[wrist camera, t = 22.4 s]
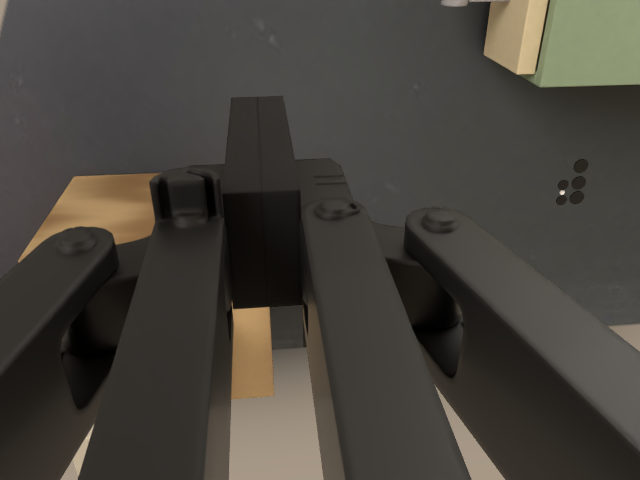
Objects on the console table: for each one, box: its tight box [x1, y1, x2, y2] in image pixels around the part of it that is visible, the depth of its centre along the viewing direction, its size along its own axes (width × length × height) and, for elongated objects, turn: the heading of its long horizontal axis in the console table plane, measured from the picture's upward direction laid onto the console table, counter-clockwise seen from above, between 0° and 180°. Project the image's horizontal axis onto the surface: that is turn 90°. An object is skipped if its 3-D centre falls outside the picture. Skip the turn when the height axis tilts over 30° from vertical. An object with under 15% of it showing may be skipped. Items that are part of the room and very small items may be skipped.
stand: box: [18, 173, 274, 399], centre depth 41 cm, size 14×12×12 cm
